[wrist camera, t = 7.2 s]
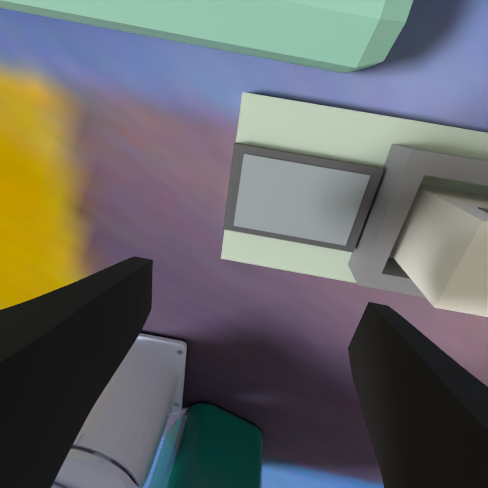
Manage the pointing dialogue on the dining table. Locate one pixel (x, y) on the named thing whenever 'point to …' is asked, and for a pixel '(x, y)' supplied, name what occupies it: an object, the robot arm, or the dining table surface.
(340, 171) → the outlet plate
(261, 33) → the container
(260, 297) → the dining table surface
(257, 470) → the green bottle
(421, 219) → the block
